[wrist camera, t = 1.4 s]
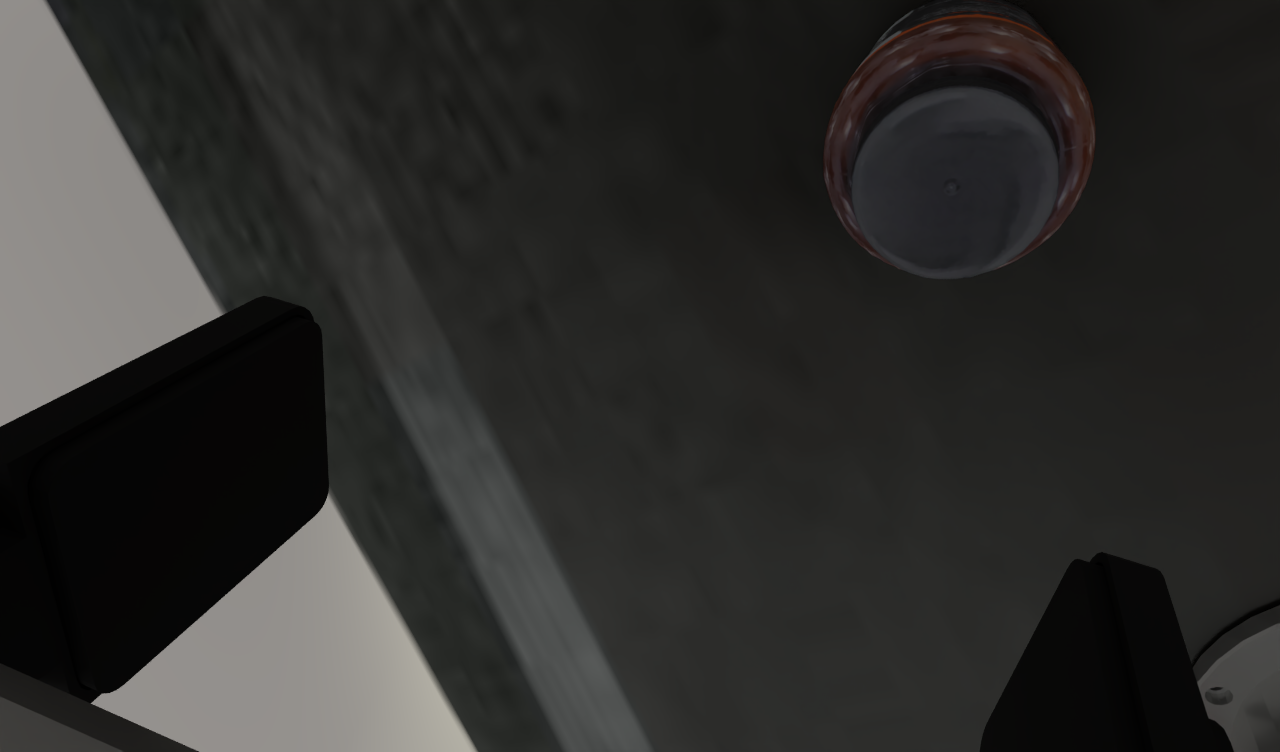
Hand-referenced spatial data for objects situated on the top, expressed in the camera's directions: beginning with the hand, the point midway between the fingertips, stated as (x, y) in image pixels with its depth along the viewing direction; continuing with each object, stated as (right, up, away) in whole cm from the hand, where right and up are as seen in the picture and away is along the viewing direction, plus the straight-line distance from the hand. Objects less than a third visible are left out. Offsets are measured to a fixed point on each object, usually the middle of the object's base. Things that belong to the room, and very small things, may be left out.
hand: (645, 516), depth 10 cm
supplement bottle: (+10, +10, +16) cm, 22 cm away
